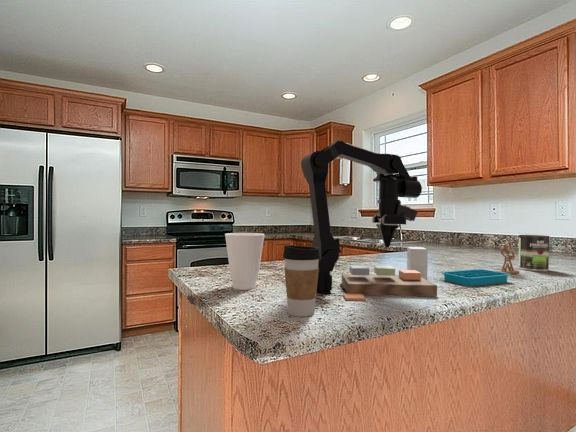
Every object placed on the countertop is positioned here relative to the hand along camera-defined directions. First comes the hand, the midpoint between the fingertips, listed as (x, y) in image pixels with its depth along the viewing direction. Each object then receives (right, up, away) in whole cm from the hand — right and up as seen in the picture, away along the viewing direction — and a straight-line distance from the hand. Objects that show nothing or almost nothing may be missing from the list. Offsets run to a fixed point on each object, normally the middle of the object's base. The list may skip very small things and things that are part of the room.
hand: (387, 247), depth 104 cm
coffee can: (+71, -13, +35) cm, 80 cm away
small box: (+15, -12, +15) cm, 25 cm away
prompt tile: (-13, -12, -15) cm, 23 cm away
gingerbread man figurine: (+53, -13, +25) cm, 60 cm away
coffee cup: (-28, -12, -28) cm, 42 cm away
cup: (-44, -12, -3) cm, 45 cm away
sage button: (-2, -8, -3) cm, 8 cm away
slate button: (-9, -8, -3) cm, 12 cm away
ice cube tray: (+33, -13, +9) cm, 36 cm away
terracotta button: (+6, -9, -3) cm, 11 cm away
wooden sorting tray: (-2, -12, -4) cm, 13 cm away
